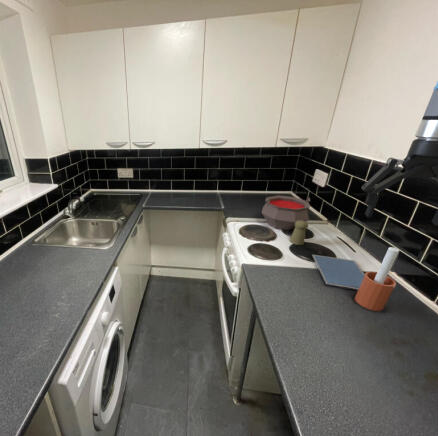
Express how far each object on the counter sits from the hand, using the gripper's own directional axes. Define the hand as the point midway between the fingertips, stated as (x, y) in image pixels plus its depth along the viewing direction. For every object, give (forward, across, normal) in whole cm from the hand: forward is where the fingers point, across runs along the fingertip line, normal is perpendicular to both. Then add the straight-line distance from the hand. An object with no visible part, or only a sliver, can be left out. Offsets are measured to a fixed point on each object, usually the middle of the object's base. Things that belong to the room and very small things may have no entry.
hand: (400, 219), depth 63 cm
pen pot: (+30, +2, +1) cm, 30 cm away
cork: (+30, -17, +36) cm, 50 cm away
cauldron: (+30, -24, +54) cm, 67 cm away
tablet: (+30, -3, +16) cm, 34 cm away
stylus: (+30, +2, +1) cm, 30 cm away
